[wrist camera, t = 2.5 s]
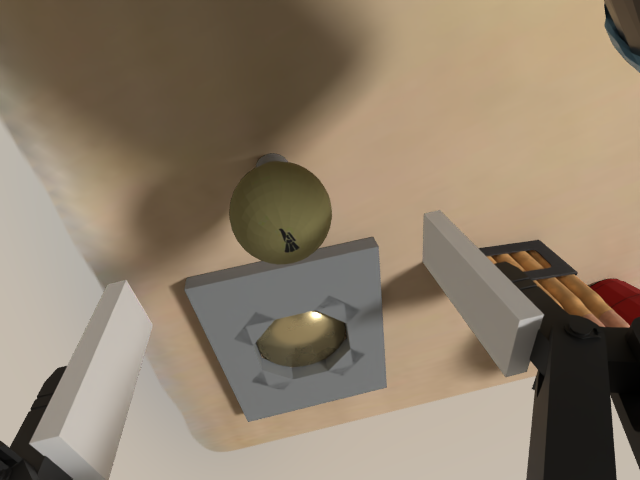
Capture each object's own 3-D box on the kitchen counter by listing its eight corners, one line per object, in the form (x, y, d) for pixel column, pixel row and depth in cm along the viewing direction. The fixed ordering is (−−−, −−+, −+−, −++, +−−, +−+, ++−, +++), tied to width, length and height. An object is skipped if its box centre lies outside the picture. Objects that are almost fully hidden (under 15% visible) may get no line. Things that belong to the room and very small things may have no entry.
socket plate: (186, 277, 29) (184, 289, 28) (373, 236, 30) (378, 246, 29) (248, 409, 41) (248, 422, 39) (382, 376, 42) (386, 387, 41)
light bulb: (326, 166, 26) (363, 239, 18) (273, 214, 28) (284, 302, 19) (273, 109, 23) (288, 164, 15) (216, 165, 25) (201, 244, 17)
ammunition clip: (432, 270, 34) (509, 378, 24) (435, 254, 33) (516, 360, 23) (534, 255, 35) (646, 351, 25) (539, 239, 34) (659, 333, 24)
